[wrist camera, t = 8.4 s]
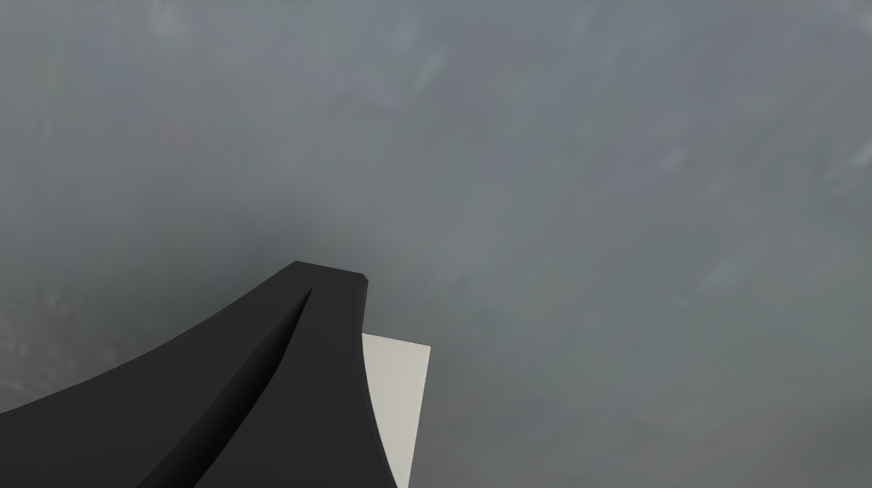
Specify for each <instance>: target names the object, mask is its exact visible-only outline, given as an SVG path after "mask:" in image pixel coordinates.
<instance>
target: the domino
mask: <svg viewBox="0 0 872 488" xmlns="http://www.w3.org/2000/svg"><path fill="white" fill-rule="evenodd" d="M362 341H363V354H364V361H365V369H366V375H367V381H368V386H369V392H370V397H371V401H372V406H373V410H374V414H375V418H376V422H377V426H378V430H379V433H380V437H381V440H382V443H383V447H384V450H385V453H386V456H387V460H388V463H389V466H390V468H391V471H392V474H393V476H394V479H395V482H396V484H397V487H398V488H408V484H409V477H410V471H411V465H412V459H413V453H414V447H415V441H416V434H417V428H418V422H419V416H420V410H421V404H422V398H423V391H424V385H425V379H426V373H427V367H428V361H429V355H430V349H431V346H426V345H421V344H416V343H411V342H406V341H400V340H395V339H390V338H385V337H380V336H375V335H370V334H365V333H362Z"/></svg>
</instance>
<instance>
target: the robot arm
mask: <svg viewBox="0 0 872 488" xmlns="http://www.w3.org/2000/svg"><path fill="white" fill-rule="evenodd" d="M367 287H368V280H367V278H366V277H365V276H364V275H363V274H361V273H356V272H351V271H345V270H340V269H335V268H330V267H325V266H320V265H315V264H310V263H304V262H299V261H294V262H293V263H291V264H290V265H288V266H287V267H285V268H284V269H282V270H281V271H279V272H278V273H276V274H275V275H273V276H272V277H270V278H269V279H267V280H266V281H265V282H263V283H262V284H260V285H259V286H257V287H256V288H254V289H253V290H251V291H250V292H248V293H247V294H245V295H244V296H242V297H241V298H239V299H238V300H236V301H235V302H233V303H232V304H230V305H229V306H227V307H225V308H224V309H222V310H221V311H219V312H218V313H216V314H215V315H213V316H211V317H210V318H208V319H207V320H205V321H203V322H201V323H200V324H198V325H196V326H195V327H193V328H191V329H189V330H188V331H186V332H184V333H182V334H181V335H179V336H177V337H175V338H174V339H172V340H170V341H169V342H167V343H165V344H163V345H161V346H159V347H157V348H155V349H154V350H152V351H150V352H148V353H146V354H144V355H142V356H140V357H138V358H136V359H133V360H131V361H129V362H127V363H125V364H123V365H121V366H118V367H116V368H114V369H112V370H110V371H108V372H105V373H103V374H101V375H99V376H96V377H94V378H92V379H90V380H87V381H85V382H82V383H80V384H77V385H75V386H72V387H69V388H67V389H64V390H62V391H59V392H57V393H54V394H52V395H49V396H47V397H44V398H41V399H39V400H36V401H34V402H31V403H29V404H26V405H24V406H21V407H19V408H16V409H13V410H10V411H7V412H4V413H2V414H0V488H398V487H397V484H396V482H395V479H394V476H393V474H392V471H391V468H390V466H389V463H388V460H387V456H386V453H385V450H384V447H383V443H382V440H381V437H380V433H379V430H378V426H377V422H376V418H375V414H374V410H373V406H372V401H371V397H370V392H369V386H368V381H367V375H366V369H365V361H364V354H363V341H362V325H363V317H364V310H365V302H366V295H367Z"/></svg>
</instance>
